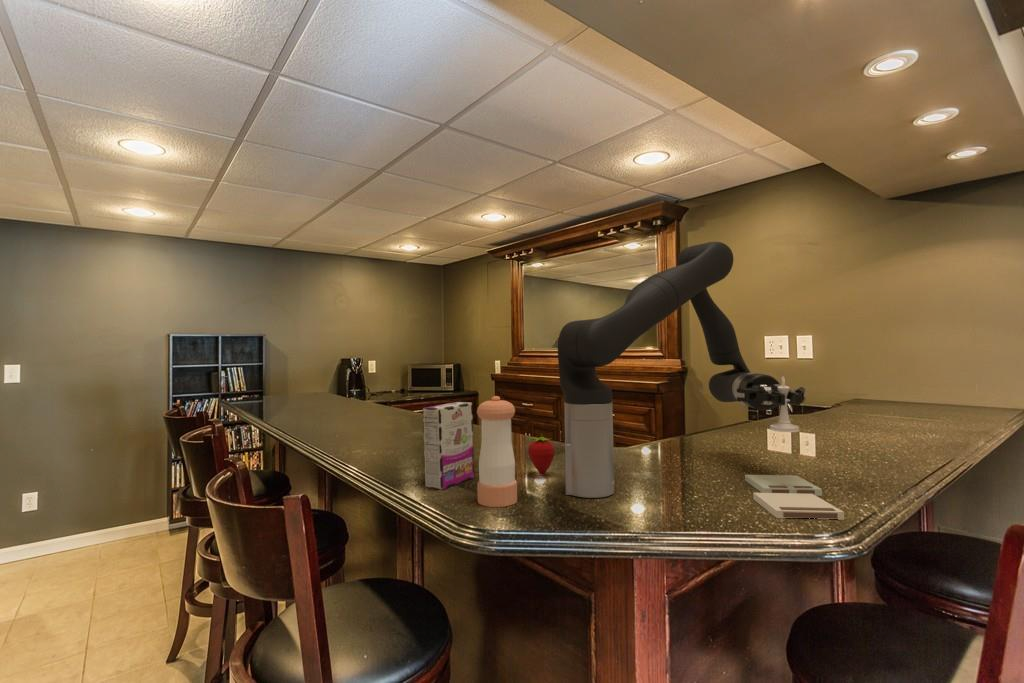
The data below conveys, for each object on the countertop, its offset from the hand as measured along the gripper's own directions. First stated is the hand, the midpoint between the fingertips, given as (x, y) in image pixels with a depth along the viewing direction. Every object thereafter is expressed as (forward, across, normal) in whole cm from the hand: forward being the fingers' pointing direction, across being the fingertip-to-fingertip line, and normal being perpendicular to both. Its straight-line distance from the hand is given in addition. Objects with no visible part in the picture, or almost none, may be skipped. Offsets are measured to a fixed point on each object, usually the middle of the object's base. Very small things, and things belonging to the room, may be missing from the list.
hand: (790, 399), depth 88 cm
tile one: (+7, -2, +18) cm, 19 cm away
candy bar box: (-6, -66, +18) cm, 68 cm away
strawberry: (-13, -47, +18) cm, 52 cm away
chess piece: (-3, 0, +6) cm, 7 cm away
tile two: (-6, 0, +18) cm, 19 cm away
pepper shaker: (+6, -53, +18) cm, 57 cm away
